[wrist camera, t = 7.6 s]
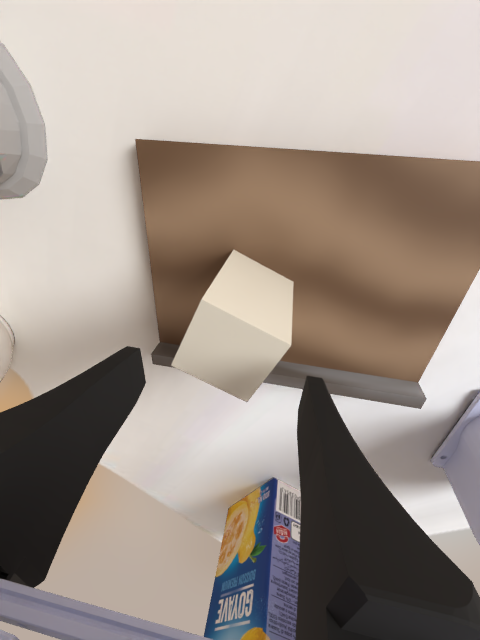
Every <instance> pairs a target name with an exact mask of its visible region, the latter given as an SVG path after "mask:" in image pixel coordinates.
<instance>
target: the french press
mask: <svg viewBox="0 0 480 640" xmlns="http://www.w3.org/2000/svg"><path fill="white" fill-rule="evenodd" d="M46 162H47V147H46V133H45V124H44V121H43V118H42V116H41V113H40V110H39V107H38V104H37V102H36V99H35V96H34V93H33V91H32V88H31V85H30V83H29V82H28V80H27V79H26V77H25V76H24V74H23V73H22V71H21V70H20V68H19V67H18V65H17V64H16V62H15V61H14V59H13V58H12V56H11V55H10V53H9V52H8V50H7V49H6V47H5V46H4V45H3V44H2V43H1V42H0V199H9V198H22V197H24V196H25V195H26V194H28V193H29V192H30V191H31V190H33V189H34V188H35V187H36V186H37V185H39V183H40V180H41V177H42V174H43V171H44V168H45V165H46Z"/></svg>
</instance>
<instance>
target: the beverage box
mask: <svg viewBox="0 0 480 640" xmlns="http://www.w3.org/2000/svg"><path fill="white" fill-rule="evenodd" d="M300 520H301V491H299V490H297V489H295V488H294V487H292V486H290V485H288V484H286V483H284V482H282V481H280V480H278V479H277V478H275V477H274V478H272V479H271V480H269V481H268V482H266V483H265V484H263V485H262V486H260V487H259V488H257V489H256V490H255V491H253V492H252V493H250V494H249V495H247V496H246V497H244V498H243V499H241V500H240V501H238V502H237V503H235V504H234V505H232V506H231V507H230V508H229V509H228V514H227V519H226V525H225V530H224V535H223V540H222V546H221V551H220V556H219V561H218V566H217V571H216V576H215V582H214V587H213V592H212V597H211V602H210V608H209V613H208V618H207V623H206V628H205V633H204V637H206V638H209V639H213V640H295V637H296V618H297V599H298V577H299V552H300Z"/></svg>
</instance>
